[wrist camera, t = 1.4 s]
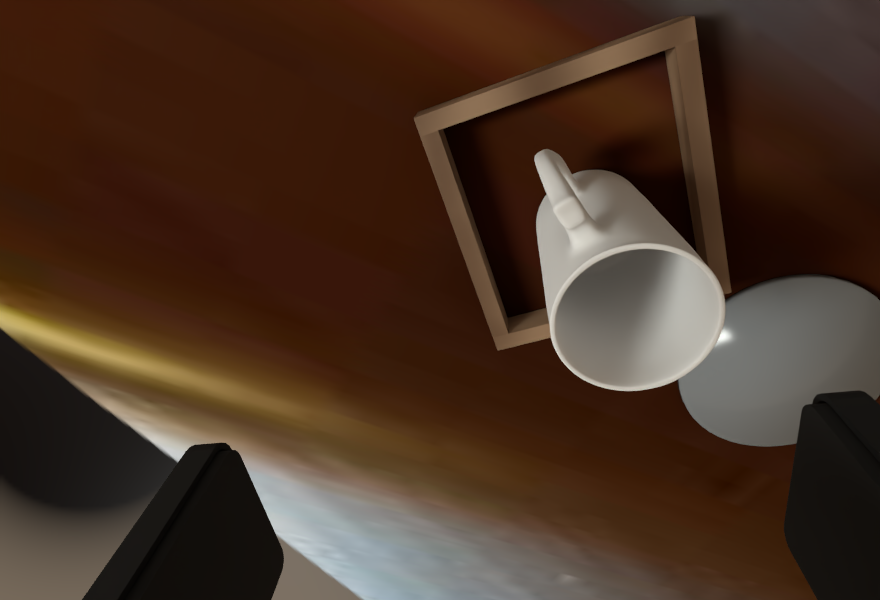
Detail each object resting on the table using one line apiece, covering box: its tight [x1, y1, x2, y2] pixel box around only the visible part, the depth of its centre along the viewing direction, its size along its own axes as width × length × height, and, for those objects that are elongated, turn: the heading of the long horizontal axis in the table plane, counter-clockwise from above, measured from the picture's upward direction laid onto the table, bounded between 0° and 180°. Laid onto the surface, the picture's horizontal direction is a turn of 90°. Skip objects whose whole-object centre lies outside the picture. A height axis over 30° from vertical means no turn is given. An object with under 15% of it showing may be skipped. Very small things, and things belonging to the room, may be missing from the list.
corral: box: [414, 16, 731, 350], centre depth 31 cm, size 14×15×2 cm
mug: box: [535, 149, 726, 391], centre depth 26 cm, size 10×7×12 cm, turn 35°
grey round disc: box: [677, 274, 880, 446], centre depth 35 cm, size 13×13×1 cm
